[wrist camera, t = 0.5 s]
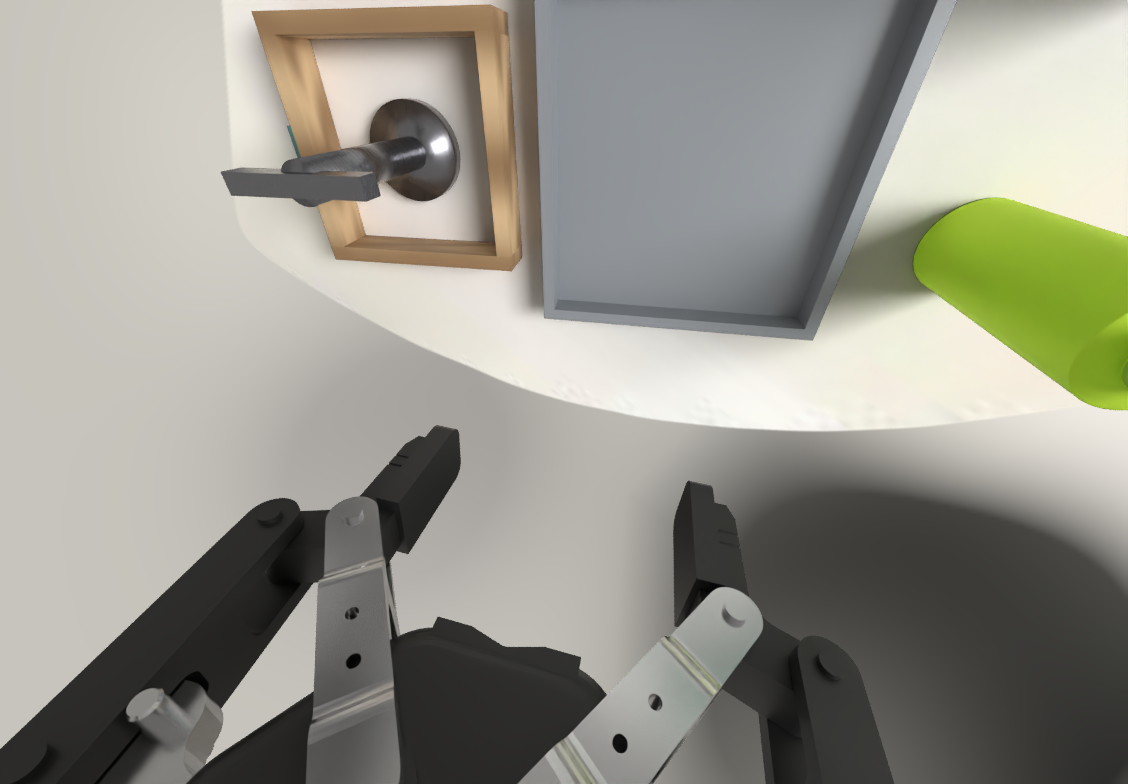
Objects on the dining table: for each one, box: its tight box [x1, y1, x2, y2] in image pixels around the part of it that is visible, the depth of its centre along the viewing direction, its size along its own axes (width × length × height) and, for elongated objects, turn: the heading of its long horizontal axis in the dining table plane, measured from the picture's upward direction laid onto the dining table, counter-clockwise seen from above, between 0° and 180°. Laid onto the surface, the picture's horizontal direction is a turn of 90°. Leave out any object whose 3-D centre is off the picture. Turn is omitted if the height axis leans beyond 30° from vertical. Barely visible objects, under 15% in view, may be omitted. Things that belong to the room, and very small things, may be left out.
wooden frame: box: [251, 5, 522, 271], centre depth 27 cm, size 14×16×3 cm
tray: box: [534, 0, 957, 341], centre depth 25 cm, size 20×20×2 cm
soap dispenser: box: [913, 198, 1128, 410], centre depth 18 cm, size 6×7×20 cm
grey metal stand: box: [221, 99, 460, 207], centre depth 23 cm, size 6×7×13 cm
